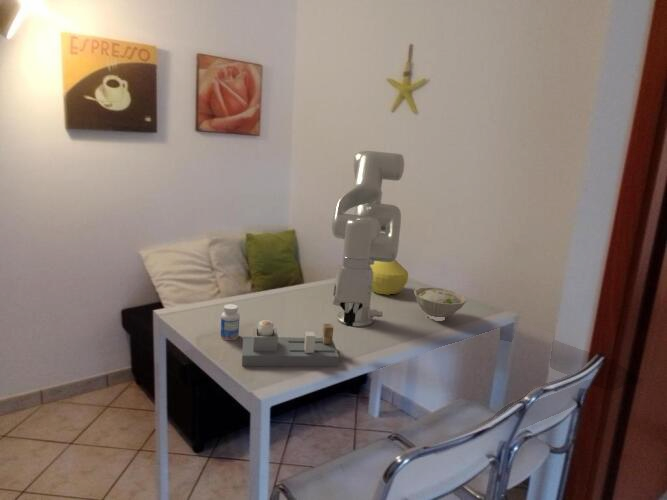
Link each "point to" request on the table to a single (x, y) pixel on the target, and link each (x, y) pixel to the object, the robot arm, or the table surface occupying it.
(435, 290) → the bowl
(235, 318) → the pill bottle
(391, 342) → the table surface
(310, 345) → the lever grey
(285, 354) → the panel
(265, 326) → the button ivory
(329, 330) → the lever oak
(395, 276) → the vase
